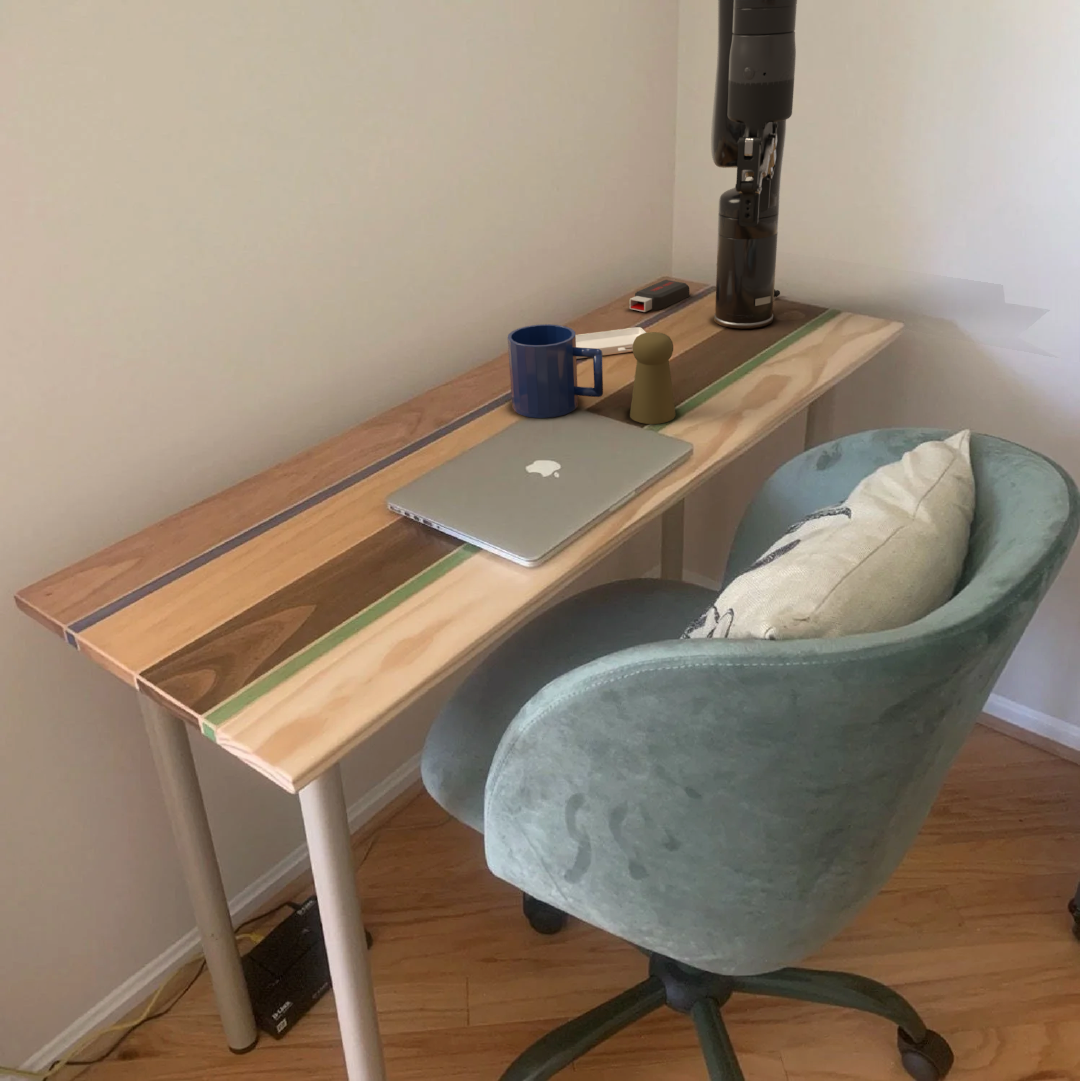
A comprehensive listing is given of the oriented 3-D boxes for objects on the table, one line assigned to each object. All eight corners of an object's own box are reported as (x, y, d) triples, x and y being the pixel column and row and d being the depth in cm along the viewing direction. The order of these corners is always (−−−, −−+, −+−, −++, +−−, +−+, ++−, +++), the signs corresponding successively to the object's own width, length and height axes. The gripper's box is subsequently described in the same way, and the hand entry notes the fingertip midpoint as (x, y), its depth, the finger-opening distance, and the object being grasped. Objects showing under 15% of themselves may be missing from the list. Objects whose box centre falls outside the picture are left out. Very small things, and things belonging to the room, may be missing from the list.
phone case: (640, 334, 166) (549, 346, 163) (640, 326, 165) (549, 337, 163) (655, 349, 160) (561, 361, 157) (655, 340, 159) (560, 352, 156)
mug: (502, 415, 140) (497, 343, 135) (525, 390, 147) (521, 322, 142) (593, 423, 136) (591, 350, 131) (612, 397, 143) (611, 327, 138)
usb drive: (689, 296, 182) (690, 280, 181) (649, 314, 175) (649, 298, 173) (665, 291, 185) (665, 276, 184) (625, 309, 178) (624, 293, 176)
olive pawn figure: (675, 405, 140) (676, 326, 134) (676, 423, 134) (677, 342, 129) (630, 406, 140) (629, 327, 135) (629, 424, 135) (628, 343, 130)
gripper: (785, 82, 114) (776, 232, 122) (802, 67, 125) (792, 205, 133) (717, 83, 116) (713, 230, 124) (740, 69, 127) (734, 204, 136)
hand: (754, 217), depth 129 cm, fingers open, 8 cm apart
